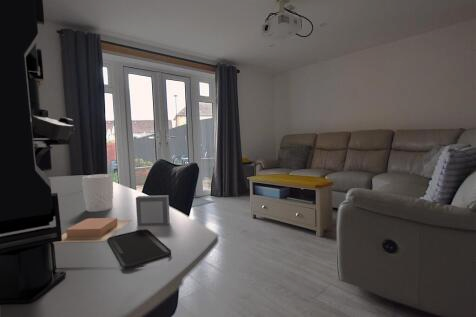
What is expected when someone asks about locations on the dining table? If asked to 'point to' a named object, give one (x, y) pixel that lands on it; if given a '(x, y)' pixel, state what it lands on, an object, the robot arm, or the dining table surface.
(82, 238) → the cork mat
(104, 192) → the white cup
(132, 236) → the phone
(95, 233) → the terracotta tile
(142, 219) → the gray box
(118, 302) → the dining table surface
